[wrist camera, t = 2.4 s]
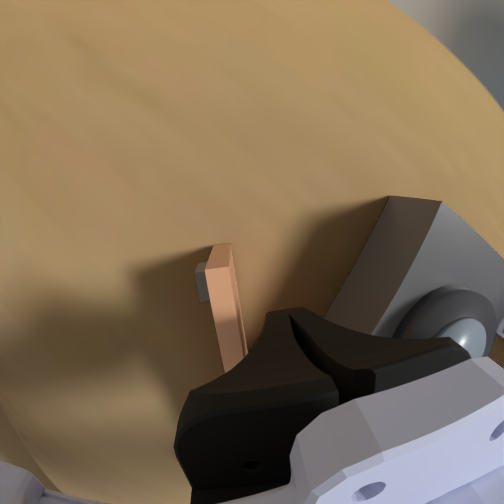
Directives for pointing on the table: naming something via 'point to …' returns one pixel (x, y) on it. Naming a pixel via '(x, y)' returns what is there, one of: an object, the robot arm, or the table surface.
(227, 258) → the side door
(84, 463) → the table surface
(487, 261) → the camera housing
